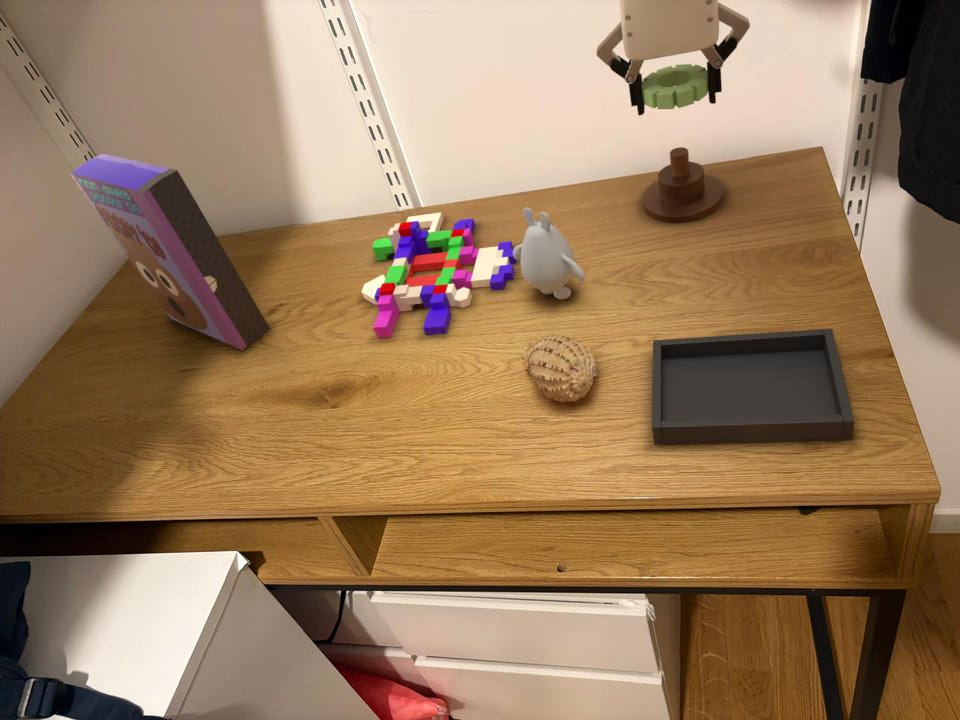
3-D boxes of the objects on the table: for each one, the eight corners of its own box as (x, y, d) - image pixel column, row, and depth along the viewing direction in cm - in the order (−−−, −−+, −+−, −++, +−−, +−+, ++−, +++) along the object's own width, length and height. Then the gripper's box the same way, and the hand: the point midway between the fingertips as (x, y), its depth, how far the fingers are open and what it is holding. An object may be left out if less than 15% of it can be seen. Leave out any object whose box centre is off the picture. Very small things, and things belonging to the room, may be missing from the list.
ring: (707, 74, 87) (706, 59, 86) (710, 103, 82) (709, 87, 81) (643, 85, 90) (641, 70, 88) (642, 114, 84) (640, 99, 83)
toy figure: (606, 291, 86) (591, 204, 78) (574, 323, 84) (555, 236, 76) (537, 268, 93) (517, 185, 85) (505, 297, 90) (481, 214, 82)
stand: (721, 174, 98) (719, 125, 93) (725, 217, 91) (724, 167, 86) (643, 184, 101) (638, 137, 96) (642, 227, 94) (636, 178, 89)
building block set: (502, 328, 86) (493, 298, 83) (343, 341, 92) (329, 314, 89) (527, 208, 104) (520, 180, 101) (391, 225, 109) (381, 199, 106)
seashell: (520, 409, 80) (582, 414, 72) (491, 366, 78) (551, 365, 70) (563, 364, 83) (627, 363, 75) (536, 322, 81) (598, 316, 73)
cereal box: (171, 319, 106) (68, 172, 90) (197, 299, 108) (101, 151, 92) (243, 351, 96) (141, 191, 80) (270, 328, 98) (176, 168, 82)
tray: (830, 347, 72) (832, 328, 70) (851, 440, 64) (854, 421, 62) (655, 357, 77) (652, 339, 75) (654, 445, 69) (651, 427, 67)
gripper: (750, -91, 75) (752, 77, 87) (580, -52, 80) (603, 102, 92) (757, -69, 70) (758, 106, 82) (574, -29, 75) (600, 131, 87)
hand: (676, 103), depth 87 cm, fingers closed on ring, 7 cm apart
